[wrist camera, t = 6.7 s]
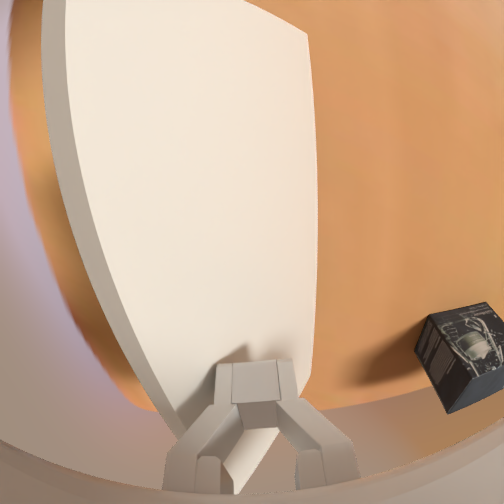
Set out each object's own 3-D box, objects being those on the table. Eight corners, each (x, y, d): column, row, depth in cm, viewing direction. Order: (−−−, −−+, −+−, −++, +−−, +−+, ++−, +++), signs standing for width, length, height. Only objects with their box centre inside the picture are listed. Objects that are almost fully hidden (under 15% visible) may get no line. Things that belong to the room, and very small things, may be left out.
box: (487, 298, 27) (530, 352, 18) (469, 336, 30) (504, 389, 21) (427, 312, 27) (472, 381, 18) (411, 352, 30) (444, 418, 21)
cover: (44, -12, 3) (70, -43, 2) (284, 36, 11) (307, 34, 11) (218, 490, 14) (234, 498, 13) (297, 370, 23) (310, 375, 22)
